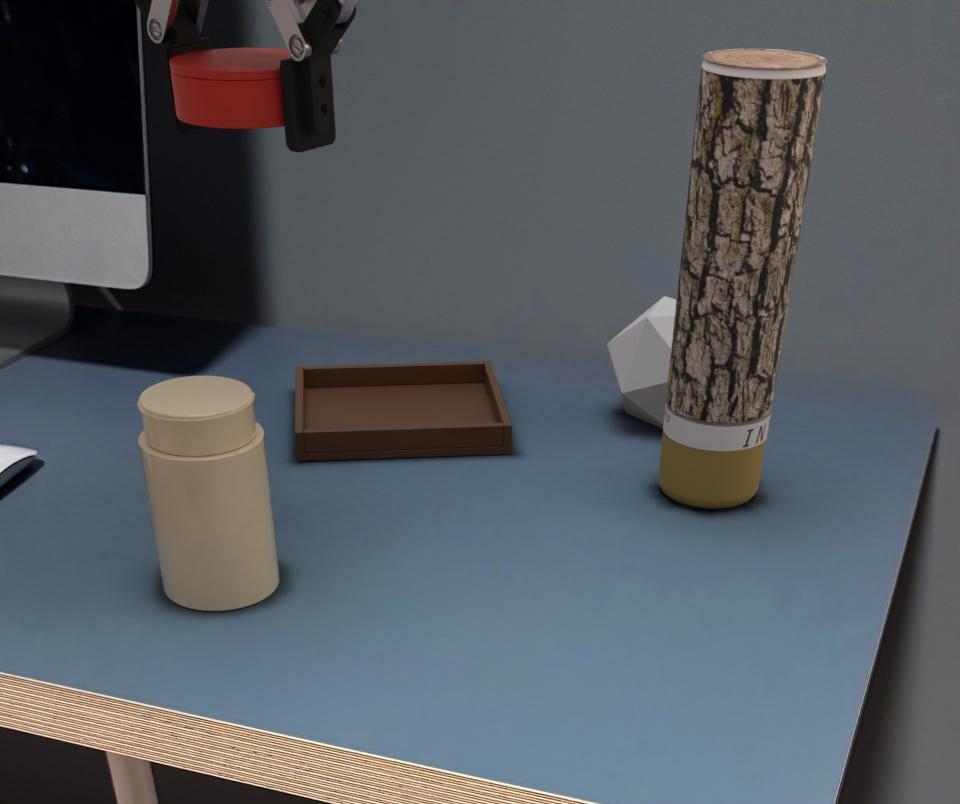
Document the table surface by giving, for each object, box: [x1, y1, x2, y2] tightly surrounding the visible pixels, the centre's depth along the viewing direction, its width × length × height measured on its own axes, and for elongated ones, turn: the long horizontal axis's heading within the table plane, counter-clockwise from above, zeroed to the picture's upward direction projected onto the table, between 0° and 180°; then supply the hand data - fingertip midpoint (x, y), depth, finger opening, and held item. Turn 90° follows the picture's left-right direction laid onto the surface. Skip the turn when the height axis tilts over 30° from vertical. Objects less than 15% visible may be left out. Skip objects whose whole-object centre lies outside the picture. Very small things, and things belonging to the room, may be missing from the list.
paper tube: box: [657, 48, 828, 510], centre depth 77 cm, size 7×7×25 cm
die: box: [606, 295, 677, 429], centre depth 92 cm, size 8×9×10 cm
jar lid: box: [169, 47, 291, 130], centre depth 65 cm, size 8×8×2 cm
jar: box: [136, 375, 281, 612], centre depth 71 cm, size 7×7×11 cm
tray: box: [294, 360, 513, 462], centre depth 93 cm, size 15×13×2 cm
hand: (252, 135), depth 66 cm, fingers closed on jar lid, 7 cm apart
